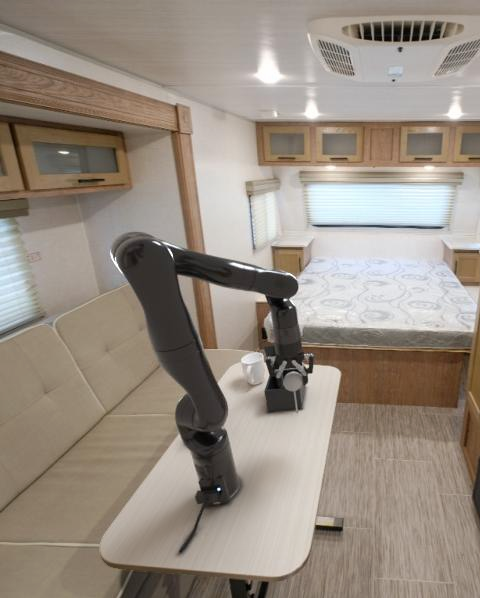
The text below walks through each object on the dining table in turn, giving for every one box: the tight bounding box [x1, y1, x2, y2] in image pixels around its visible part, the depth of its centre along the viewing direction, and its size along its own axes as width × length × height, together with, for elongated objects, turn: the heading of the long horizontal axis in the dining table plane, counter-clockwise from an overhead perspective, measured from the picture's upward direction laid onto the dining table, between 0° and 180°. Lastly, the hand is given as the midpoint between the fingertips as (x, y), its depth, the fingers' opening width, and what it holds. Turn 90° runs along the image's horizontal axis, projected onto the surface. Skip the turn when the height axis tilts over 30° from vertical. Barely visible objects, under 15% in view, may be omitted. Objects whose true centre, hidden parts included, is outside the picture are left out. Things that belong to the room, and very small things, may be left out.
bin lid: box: [262, 343, 293, 370], centre depth 135 cm, size 14×13×5 cm
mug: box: [240, 351, 266, 386], centre depth 144 cm, size 12×9×12 cm
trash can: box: [263, 368, 306, 413], centre depth 134 cm, size 14×13×10 cm
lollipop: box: [283, 372, 303, 414], centre depth 107 cm, size 6×6×15 cm
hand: (293, 385), depth 105 cm, fingers closed on lollipop, 6 cm apart
